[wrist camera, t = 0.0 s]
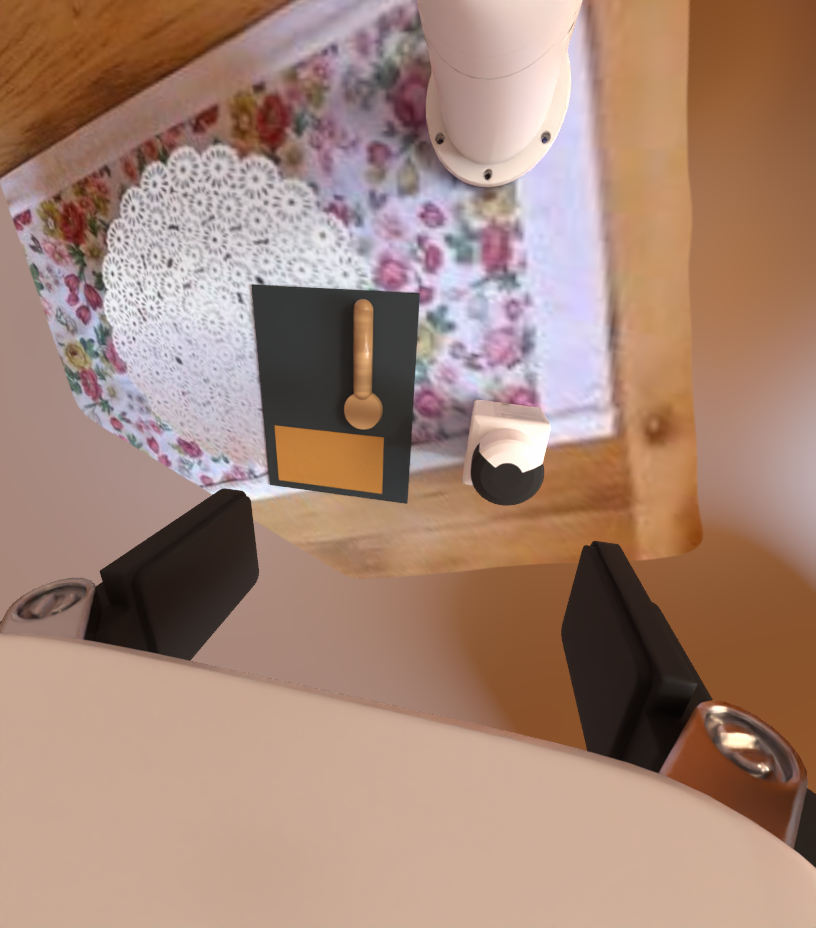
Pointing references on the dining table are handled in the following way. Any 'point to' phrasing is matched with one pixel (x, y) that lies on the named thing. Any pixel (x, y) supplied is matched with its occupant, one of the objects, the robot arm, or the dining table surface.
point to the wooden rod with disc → (363, 371)
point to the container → (506, 451)
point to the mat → (335, 389)
